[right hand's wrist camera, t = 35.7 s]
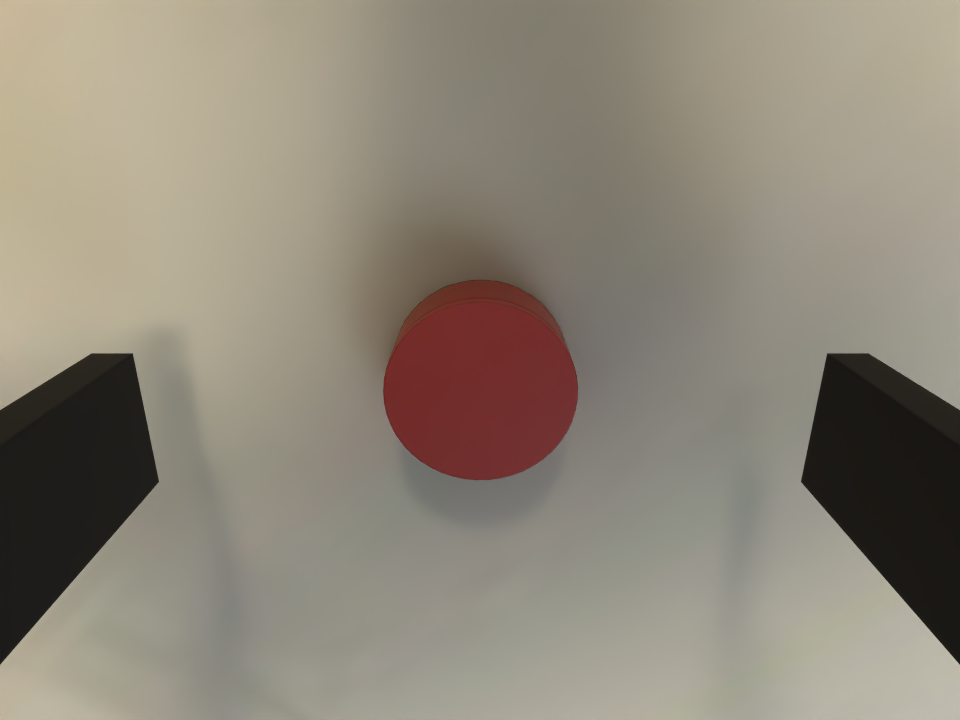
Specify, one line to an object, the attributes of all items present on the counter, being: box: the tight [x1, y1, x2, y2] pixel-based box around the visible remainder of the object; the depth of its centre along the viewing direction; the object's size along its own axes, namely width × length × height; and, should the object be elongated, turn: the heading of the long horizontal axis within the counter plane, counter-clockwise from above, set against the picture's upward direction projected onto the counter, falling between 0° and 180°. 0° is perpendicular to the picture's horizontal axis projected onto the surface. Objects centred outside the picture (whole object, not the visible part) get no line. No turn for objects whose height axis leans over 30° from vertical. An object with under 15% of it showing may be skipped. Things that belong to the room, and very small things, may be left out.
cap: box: [383, 280, 578, 480], centre depth 14 cm, size 4×4×2 cm
